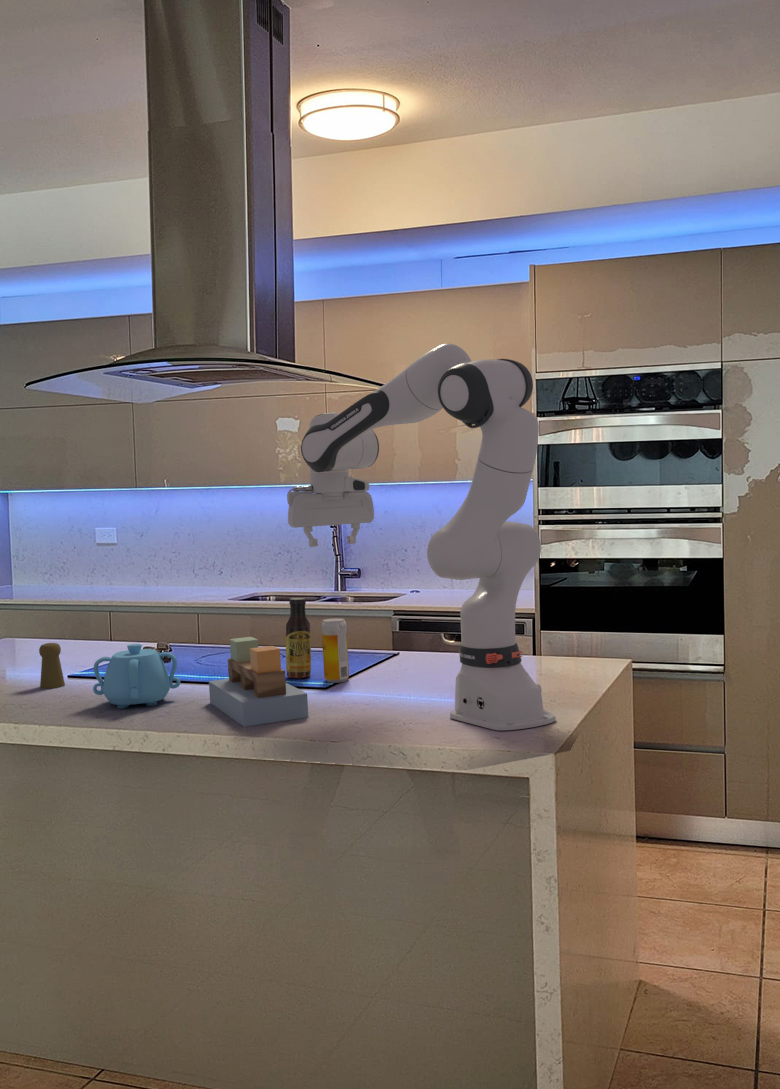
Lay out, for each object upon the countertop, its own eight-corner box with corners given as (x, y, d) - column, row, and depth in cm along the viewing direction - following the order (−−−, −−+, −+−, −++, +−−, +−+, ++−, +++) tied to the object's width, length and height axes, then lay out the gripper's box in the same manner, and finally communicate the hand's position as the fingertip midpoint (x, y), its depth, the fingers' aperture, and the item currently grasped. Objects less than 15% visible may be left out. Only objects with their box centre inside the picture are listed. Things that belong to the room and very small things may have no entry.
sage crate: (259, 659, 226) (257, 639, 226) (237, 662, 224) (236, 642, 224) (252, 656, 231) (251, 636, 230) (230, 658, 228) (229, 639, 228)
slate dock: (308, 717, 212) (307, 693, 212) (243, 726, 207) (242, 702, 206) (269, 694, 236) (267, 673, 236) (210, 702, 230) (208, 681, 230)
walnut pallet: (286, 694, 212) (285, 670, 212) (258, 698, 210) (257, 674, 209) (254, 676, 232) (253, 655, 232) (228, 680, 230) (227, 658, 229)
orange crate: (281, 670, 213) (279, 648, 212) (258, 673, 210) (256, 651, 210) (273, 666, 217) (272, 645, 217) (250, 669, 215) (249, 648, 215)
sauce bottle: (289, 680, 251) (284, 600, 250) (284, 676, 257) (280, 598, 256) (315, 677, 253) (311, 598, 251) (309, 673, 259) (305, 596, 257)
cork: (57, 688, 254) (54, 645, 253) (35, 688, 255) (32, 645, 255) (69, 683, 260) (66, 641, 259) (48, 683, 261) (45, 641, 260)
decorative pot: (188, 699, 235) (185, 641, 234) (130, 714, 223) (126, 652, 222) (145, 692, 245) (142, 636, 245) (87, 705, 233) (84, 647, 232)
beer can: (336, 677, 253) (333, 617, 252) (354, 679, 249) (351, 618, 248) (319, 681, 248) (316, 620, 247) (337, 684, 244) (334, 622, 243)
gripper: (291, 486, 225) (294, 549, 226) (375, 482, 234) (378, 542, 235) (282, 487, 231) (285, 547, 232) (364, 482, 239) (367, 541, 240)
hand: (332, 545), depth 233 cm, fingers open, 8 cm apart
